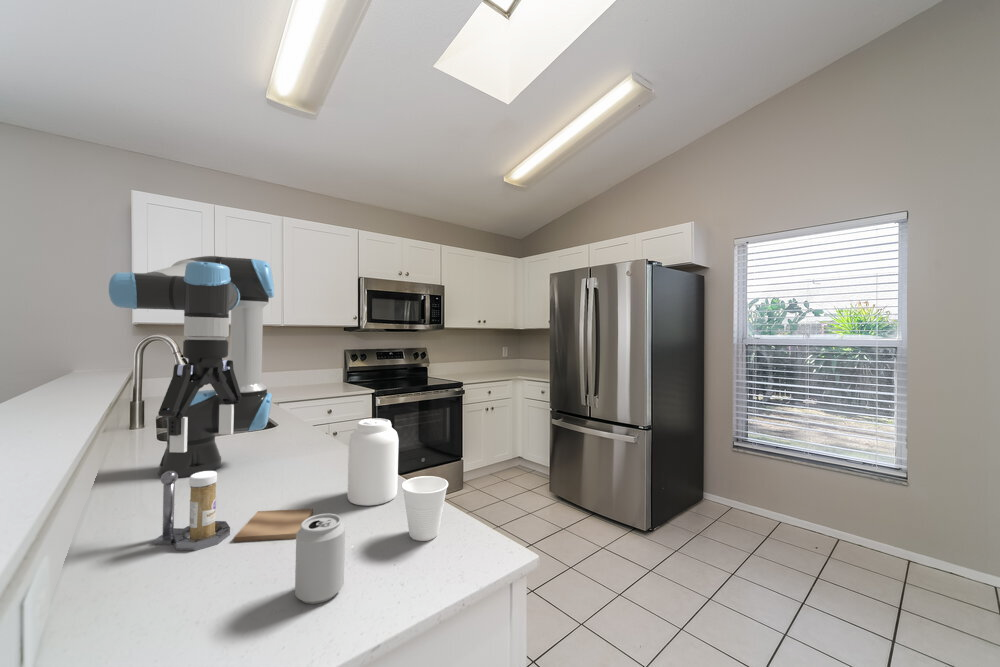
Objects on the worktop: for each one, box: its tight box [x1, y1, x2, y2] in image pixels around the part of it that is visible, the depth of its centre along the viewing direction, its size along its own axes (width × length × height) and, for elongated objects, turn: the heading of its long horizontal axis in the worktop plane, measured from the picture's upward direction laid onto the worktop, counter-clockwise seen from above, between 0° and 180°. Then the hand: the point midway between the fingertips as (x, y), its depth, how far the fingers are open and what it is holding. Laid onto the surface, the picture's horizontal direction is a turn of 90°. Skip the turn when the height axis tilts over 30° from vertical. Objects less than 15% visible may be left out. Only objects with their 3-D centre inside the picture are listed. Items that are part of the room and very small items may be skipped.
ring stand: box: [152, 471, 231, 552], centre depth 84 cm, size 9×13×14 cm
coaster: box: [233, 508, 314, 543], centre depth 90 cm, size 12×12×1 cm
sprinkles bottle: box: [188, 470, 218, 539], centre depth 84 cm, size 5×5×13 cm
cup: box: [401, 475, 449, 542], centre depth 88 cm, size 10×10×11 cm
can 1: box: [294, 513, 346, 605], centre depth 68 cm, size 8×8×12 cm
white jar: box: [347, 417, 400, 507], centre depth 107 cm, size 12×12×20 cm
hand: (204, 442), depth 84 cm, fingers open, 13 cm apart
